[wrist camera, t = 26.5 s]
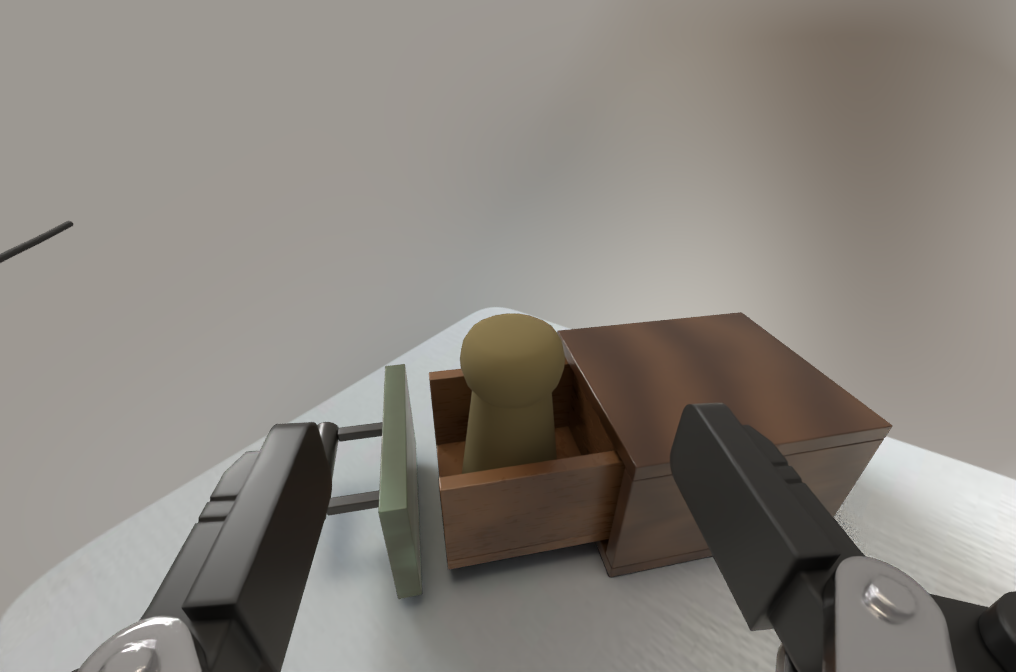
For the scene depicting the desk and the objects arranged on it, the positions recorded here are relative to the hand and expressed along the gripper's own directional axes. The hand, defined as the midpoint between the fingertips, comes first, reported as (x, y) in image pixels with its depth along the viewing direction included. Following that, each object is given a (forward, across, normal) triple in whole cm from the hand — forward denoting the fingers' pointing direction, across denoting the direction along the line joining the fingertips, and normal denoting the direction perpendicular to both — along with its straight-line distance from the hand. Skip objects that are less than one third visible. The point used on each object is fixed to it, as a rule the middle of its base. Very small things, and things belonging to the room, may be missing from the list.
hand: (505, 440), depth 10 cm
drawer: (+11, +1, +16) cm, 19 cm away
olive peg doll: (+11, -1, +15) cm, 19 cm away
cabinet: (+12, -13, +17) cm, 24 cm away
